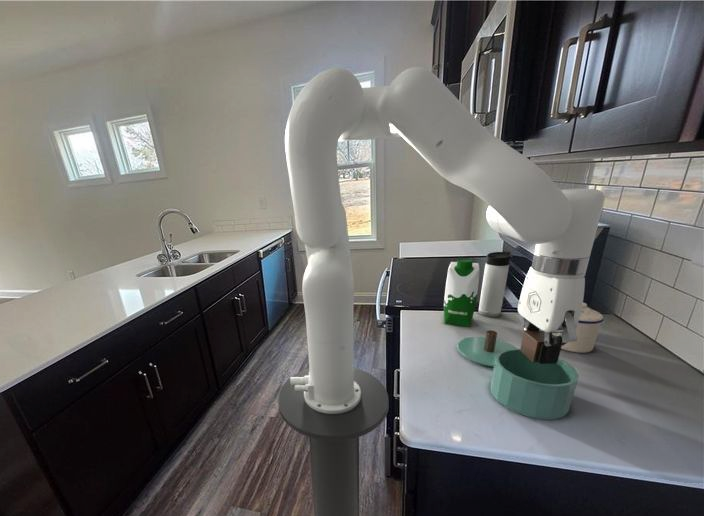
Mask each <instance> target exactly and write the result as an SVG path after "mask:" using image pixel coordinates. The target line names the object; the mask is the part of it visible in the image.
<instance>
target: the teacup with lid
mask: <svg viewBox="0 0 704 516" xmlns="http://www.w3.org/2000/svg"><path fill="white" fill-rule="evenodd" d="M603 321H604V316H603V314H602V313H600V312H599V311H597V310H594V309H592V308H591V307H589V306H588V303H586V302H583V304H582V310H581V314H580V318H579V322H578V325H577V327H576V334H577V338H578V339H577V341H574V342H568V343H566V344H565V345H564V346H562V347H561V350H564V351H568V352H572V353H579V354H581V353H590V352H592V351H593V350H594V347H595V344H596V341H597V337H598V334H599V330H600V327H601V324H602V322H603ZM552 334H553V335H554V336H557V335H558V333H552Z"/></svg>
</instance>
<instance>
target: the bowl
mask: <svg viewBox="0 0 704 516" xmlns="http://www.w3.org/2000/svg"><path fill="white" fill-rule="evenodd" d="M579 377H580V375H579V373H578V371H577V369H576V368H575V367H574V366H572V365H571V364H570V363H568V362H567V361H565V360H564V359H562V358H559V359H558V362H557V363H555V364H540V363H538V362H532V361H531V360H530V359H529V358H528V357H527V356H525V355H524V354H523V353H522V352H521V351H520V348H517V349H508V350H504V351H501V352H499V353H498V354H497V356H496V358H495V363H494V367H493V369H492V375H491V381H490V393H491V395H492V396H493V398H494V399H495V400H496V401H497V402H498V403H499V404H500V405H502V406H503V407H505V408H507V409H509V410H510V411H512V412H515V413H517V414H519V415H521V416H525V417H528V418H532V419H537V420H547V421H548V420H550V421H551V420H558V419H561V418H564V417H565V416H566V415H567V414H568V413H569V411H570V407H571V404H572V401H573V397H574V395H575V394H574V393H575V391H576V387H577V384H578V381H579Z"/></svg>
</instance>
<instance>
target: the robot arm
mask: <svg viewBox="0 0 704 516" xmlns="http://www.w3.org/2000/svg"><path fill="white" fill-rule="evenodd" d="M397 138H403V139H404V140H405V141H406V142H407V143H408V144H409V145H410V146H411V147H412V148H413V149H414V150H415V151H416V152H417V153H418V154H419V155H420V156H421V157H422V158H423V159H424V160H425V161H426V162H427V163H428V164H429V165H430V166H431V168H433V170H434V171H436V173H438V174H439V176H441V177H442V178H444V179H445V180H447V181H448V182H449V183H451V184H453V185H456V186H457V187H460V188H462V189H464V190H466V191H468V192H470V193H471V194H473V195H475V196H477V197H478V198H479V199H480V200H481V201H483V202H484V203H486V205H488V207H487V210H486V214H485V215H486V221H487V223H488V225H489V227H490V228H491V229H492V230H494V231H495V232H497V233H499V234H501V235H504V236H506V237H509V238H512V239H516V240H518V241H521V242H523V243H526V244H530V245H531V244H532V245H535V248H534V252H533V257H532V262H531V266H530V267H529V270H528V271H527V274H526V276H525V279H524V282H523V285H522V288H521V292H520V296H519V300H518V304H517V312H518V314H519V315H520V316H521V317H522V318H523V322H524V323H523V330H524V331H544V332H545V337H544V344H541V347H540V351H539V355H538V360H537V362H538V363H540V364H555V363H557V361H558V357H559V358H560V355H559V353H560V354H561V351H560V349H561V346H564V345H565V344H566V343H568V342H574V341H577V339H578V338H577V334H576V327H577V325H578V322H579V318H580V314H581V310H582V304H583V303H584V297H585V286H586V278H585V277H586V273H587V270H588V265H589V261H590V257H591V253H592V250H593V245H594V242H595V239H596V235H597V231H598V226H599V223H600V219H601V216H602V211H603V208H604V203H605V194H604V192H603V191H601V190H599V189H596V188H566V189H560V188H559V187H558V185H556V183H555V182H554V181H553V179H551V177H550V176H549V175H548V174H546V172H545V171H544V170H543V169H542V168H540V166H538V165H537V164H536V163H535V162H533V161H532V160H531V159H529V158H528V157H527V156H525V155H524V154H523V153H522V152H519V151H517V150H516V149H515V148H513V147H512V146H510V145H509V144H508V143H506V142H505V141H503V140H502V139H500V138H499V137H497V136H495V135H493V133H490V132H489V130H487V129H486V128H485V127H484V125H482V124H481V122H479V120H477V118H476V117H475V116H474V115H473V114H472V112H470V111H469V110H468V108H467V107H466V106H465V105H464V104H463V103H462V102H461V101H460V100H459V99H458V98H457V96H455V94H454V93H453V92H452V91H450V89H449V88H448V87H447V86H446V85H445V84H444V83H443V82H442V80H441V79H440V78H439V77H438V76H437V75H436V74H434V72H433V71H431V70H429V69H428V68H426V67H423V66H412V67H409V68H406V69H405V70H403V71H402V72H400V73H399V74H398V75H397V76H396V77H394V79H393V80H392V81H391V82H390V84H389V85H388V84H387V85H382V86H381V85H380V86H369V87H362V84H361V83H360V80H359V79H358V78H357V76H356V75H354V73H352V72H351V71H350V70H349V69H346V68H342V67H330V68H328V69H325V70H323V71H321V72H319V73H318V74H316V75H315V76H314V77H312V78H311V79H310V80H309V81H308V82H307V83H306V84H305V85H304V86H303V87H302V89H301V90H300V91H299V93H298V94H297V96H296V97H295V99H294V101H293V103H292V105H291V108H290V110H289V114H288V116H287V121H286V127H285V134H284V147H285V148H284V149H285V157H286V164H287V171H288V179H289V186H290V194H291V200H292V206H293V207H292V208H293V213H294V222H295V223H294V224H295V230H296V234H297V236H298V237H299V239H300V241H301V242H302V243H303V244H304V247H305V254H306V260H307V265H306V267H305V270H304V273H303V276H302V284H301V285H302V286H301V287H302V288H301V291H302V299H303V300H302V301H303V305H304V313H305V314H304V316H305V326H306V338H307V353H308V354H307V355H308V368H309V376H305V377H300V378H299V377H292V376H290V377H289V378H290V385H291V386H295V392H301V391H304V398H305V401H306V403H307V404H308V405H309V406H310V407H311V408H312V409H314V410H316V411H318V412H322V413H326V414H339V413H344V412H347V411H349V410H351V409H353V408H354V407H356V406H357V405H358V403H359V402H360V399H361V390H360V387H359V385H358V384H357V383H356V382H355V381H354V367H355V360H354V358H355V357H354V356H355V355H354V354H355V352H354V351H355V350H354V349H355V348H354V347H355V346H354V344H355V343H354V342H355V341H354V339H355V338H354V337H355V336H354V334H355V333H354V307H355V305H354V304H355V303H354V302H355V281H354V280H355V278H354V271H353V264H352V255H351V247H350V246H351V245H350V238H349V229H348V219H347V212H346V208H345V206H344V204H343V201H342V200H343V199H342V193H341V186H340V175H339V174H340V173H339V165H338V164H339V163H338V155H337V154H338V152H337V151H338V145H339V142H353V141H369V140H370V141H372V140H374V141H375V140H385V139H397ZM552 333H558V335H557V336H556V337H554V338H552ZM561 350H562V349H561Z"/></svg>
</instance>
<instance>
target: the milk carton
mask: <svg viewBox="0 0 704 516" xmlns="http://www.w3.org/2000/svg"><path fill="white" fill-rule="evenodd" d="M446 275H447V276H446V281H445V287H444V289H445V290H444V299H443V319H444V324H445V325H451V326H460V327H467V328H470V327H471V324H472V320H473V316H474V314H475V310H476V305H477V299H478V291H479V286H480V285H479V284H480V283H479V282H480V277H481V270H480V265H479V262H474V260H473V259H470V258H458V259H457V260H456V261H450V263H449V266H448V269H447V273H446Z"/></svg>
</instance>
